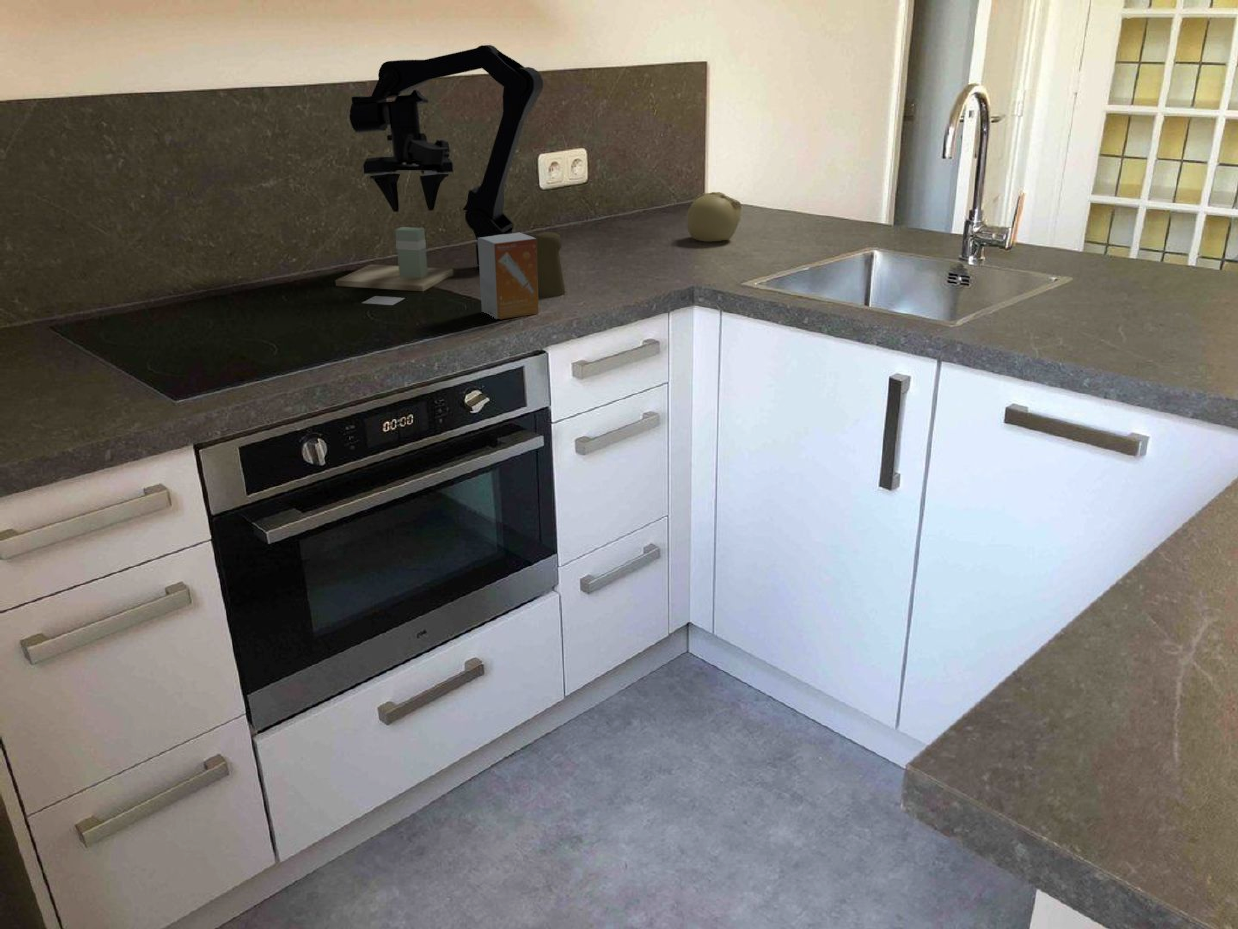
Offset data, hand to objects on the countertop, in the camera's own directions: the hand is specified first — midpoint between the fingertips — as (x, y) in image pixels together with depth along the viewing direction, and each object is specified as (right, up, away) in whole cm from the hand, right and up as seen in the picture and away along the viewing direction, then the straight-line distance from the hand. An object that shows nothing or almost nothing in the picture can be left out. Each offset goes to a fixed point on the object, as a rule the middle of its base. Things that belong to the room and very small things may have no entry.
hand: (413, 211), depth 197 cm
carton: (+1, -14, -7) cm, 16 cm away
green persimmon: (+62, +1, +29) cm, 69 cm away
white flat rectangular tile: (-1, -21, -20) cm, 29 cm away
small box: (+22, -25, -27) cm, 43 cm away
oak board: (-2, -15, -5) cm, 16 cm away
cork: (+28, -19, -14) cm, 37 cm away
